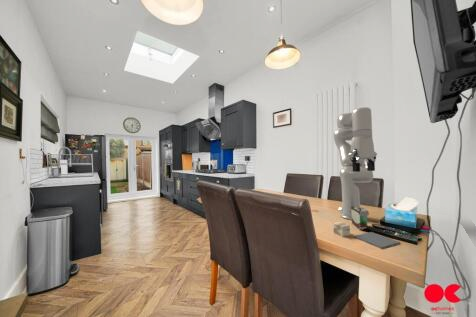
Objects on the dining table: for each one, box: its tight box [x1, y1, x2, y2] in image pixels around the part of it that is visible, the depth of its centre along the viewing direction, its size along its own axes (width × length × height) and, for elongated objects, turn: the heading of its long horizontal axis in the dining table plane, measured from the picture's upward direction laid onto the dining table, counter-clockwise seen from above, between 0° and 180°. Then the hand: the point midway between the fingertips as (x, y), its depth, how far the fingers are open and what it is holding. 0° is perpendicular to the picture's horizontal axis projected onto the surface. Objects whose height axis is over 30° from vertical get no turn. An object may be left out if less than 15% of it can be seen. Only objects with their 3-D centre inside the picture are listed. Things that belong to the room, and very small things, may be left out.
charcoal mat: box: [353, 231, 401, 250], centre depth 82 cm, size 12×12×1 cm
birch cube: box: [333, 221, 351, 238], centre depth 89 cm, size 5×5×5 cm
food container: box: [351, 206, 370, 231], centre depth 97 cm, size 12×6×10 cm, turn 168°
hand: (363, 171), depth 84 cm, fingers open, 9 cm apart
